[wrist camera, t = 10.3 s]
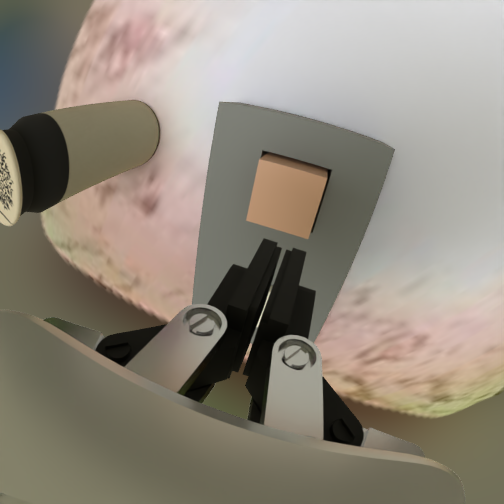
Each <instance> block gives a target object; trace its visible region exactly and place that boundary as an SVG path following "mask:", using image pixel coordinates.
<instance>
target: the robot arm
mask: <svg viewBox="0 0 504 504" xmlns="http://www.w3.org/2000/svg"><path fill="white" fill-rule="evenodd" d="M277 244H278V242H274V241H271V240H268V239H265V238H264V239H263V241H262V242H261V244H260V246H259V248H258V250H257V252H256V253H255V255H254V257H253V259H252V261H251V263H250V264H249V266H248V268H245V267H242V266H239V265H236V264H233V265H232V266H231V267H230V269H229V271H228V272H227V274H226V275H225V277H224V278H223V280H222V282H221V283H220V285H219V286H218V288H217V289H216V291H215V293H214V294H213V296H212V297H211V299H210V300H209V302H208V304H207V305H206V304H193V305H190V306H187V307H186V308H184V309H183V310H181V311H180V312H179V313H178V314H177V315H176V316H175V317H174V318H173V319H172V320H171V321H170V322H169V323H168V324H166V325H161V326H156V327H151V328H145V329H140V330H135V331H130V332H123V333H117V334H113V335H110V336H107V337H105V336H103V335H102V332H99V331H95V330H92V329H89V328H86V327H83V326H79V325H77V324H74V323H71V322H68V321H65V320H62V319H59V318H55V317H51V318H46V319H44V320H42V319H40V318H37V317H35V316H32V315H29V314H26V313H23V312H18V311H13V310H0V504H466V501H465V492H464V487H463V484H462V482H461V480H460V478H459V477H458V475H456V473H454V472H453V471H452V470H450V469H449V468H448V467H446V466H444V465H441V464H440V463H438V462H436V461H433V460H431V459H428V458H425V455H424V452H423V451H422V449H421V448H420V447H419V446H417V445H415V444H413V443H410V442H407V441H404V440H401V439H399V438H396V437H393V436H391V435H388V434H385V433H383V432H380V431H378V430H375V429H373V428H369V429H368V430H367V429H364V428H362V425H361V424H360V422H359V420H357V418H356V417H355V416H354V414H353V413H352V412H351V411H350V410H349V408H348V407H347V406H346V405H345V403H344V402H343V401H342V400H341V398H340V397H339V396H338V395H337V393H336V392H335V391H334V390H333V388H332V387H331V386H330V385H329V383H328V382H327V381H326V380H325V378H324V377H323V376H322V358H321V354H320V351H319V349H318V348H317V346H316V345H315V344H314V343H313V342H312V341H310V340H308V337H309V332H310V326H311V320H312V314H313V308H314V302H315V296H316V291H315V290H312V289H309V288H306V287H303V286H300V285H299V283H300V279H301V274H302V270H303V266H304V261H305V257H306V251H303V250H299V249H296V248H293V249H292V251H290V250H287V249H286V252H285V254H284V257H283V260H282V263H281V265H280V268H279V271H278V274H277V276H276V279H275V282H274V284H273V287H272V290H271V292H270V295H269V298H268V300H267V303H266V299H267V296H268V293H269V290H270V286H271V283H272V280H273V277H274V273H275V270H276V267H277V263H278V260H279V257H280V253H281V250H282V248H281V247H278V246H277ZM265 303H266V306H265V308H264V305H265ZM263 308H264V311H263ZM262 311H263V314H262V317H261V320H260V323H259V326H258V329H257V332H256V335H255V338H254V341H253V344H252V348H251V351H250V354H249V357H248V360H247V363H246V366H245V369H244V372H243V375H247V376H249V377H248V379H247V382H246V385H245V386H246V388H247V389H248V391H249V393H250V394H251V396H252V398H251V401H250V407H249V412H248V418H247V420H245V419H242V418H240V417H236V416H234V415H231V414H228V413H225V412H222V411H220V410H217V409H214V408H212V407H209V406H206V405H204V404H202V403H203V402H204V400H205V399H206V398H207V396H208V395H209V393H210V392H211V390H212V389H213V388H214V386H215V383H216V382H219V381H222V380H225V379H227V378H230V375H231V373H232V371H235V372H238V371H239V369H240V367H241V364H242V362H243V359H244V357H245V354H246V352H247V349H248V347H249V344H250V342H251V339H252V337H253V334H254V332H255V329H256V326H257V324H258V321H259V319H260V316H261V313H262Z"/></svg>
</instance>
